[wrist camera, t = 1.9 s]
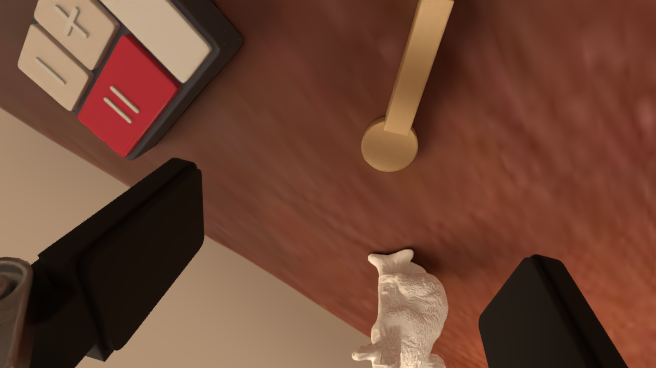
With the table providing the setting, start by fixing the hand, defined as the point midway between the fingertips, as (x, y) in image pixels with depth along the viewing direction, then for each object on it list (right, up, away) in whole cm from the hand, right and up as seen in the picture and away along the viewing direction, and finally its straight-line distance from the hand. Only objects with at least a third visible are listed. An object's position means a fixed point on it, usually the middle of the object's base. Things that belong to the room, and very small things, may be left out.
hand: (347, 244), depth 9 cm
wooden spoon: (+5, +8, +14) cm, 17 cm away
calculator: (-16, +13, +16) cm, 26 cm away
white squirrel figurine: (+7, -7, +23) cm, 25 cm away
